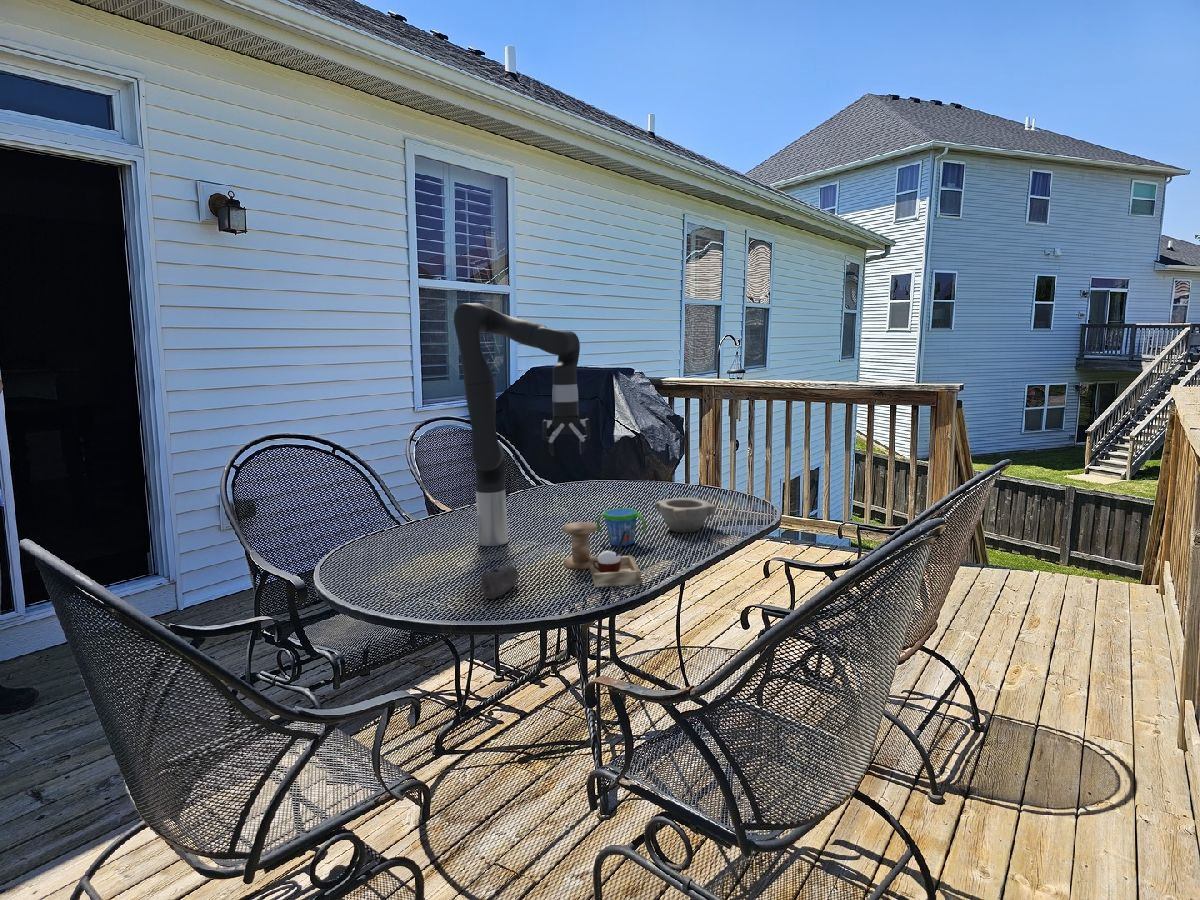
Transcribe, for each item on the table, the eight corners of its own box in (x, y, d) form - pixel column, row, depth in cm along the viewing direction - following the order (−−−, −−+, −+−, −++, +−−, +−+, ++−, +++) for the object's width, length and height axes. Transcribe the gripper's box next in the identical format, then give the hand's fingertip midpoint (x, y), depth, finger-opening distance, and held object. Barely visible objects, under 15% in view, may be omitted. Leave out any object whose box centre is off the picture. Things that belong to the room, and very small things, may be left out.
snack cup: (591, 546, 227) (590, 514, 225) (605, 537, 236) (604, 506, 235) (639, 550, 220) (638, 517, 219) (651, 541, 230) (650, 509, 228)
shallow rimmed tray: (595, 587, 189) (594, 574, 189) (589, 569, 204) (589, 557, 204) (640, 584, 191) (640, 571, 190) (632, 566, 205) (632, 555, 205)
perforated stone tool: (509, 582, 195) (508, 557, 194) (526, 585, 193) (524, 559, 192) (475, 601, 182) (473, 574, 181) (492, 604, 180) (491, 577, 179)
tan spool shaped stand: (564, 570, 204) (563, 532, 202) (562, 559, 214) (561, 523, 212) (600, 568, 205) (599, 529, 203) (597, 557, 215) (595, 521, 213)
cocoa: (590, 575, 198) (586, 532, 196) (605, 568, 203) (601, 526, 201) (618, 580, 192) (614, 535, 190) (632, 572, 196) (628, 529, 195)
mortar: (721, 531, 238) (720, 504, 237) (675, 538, 231) (675, 510, 230) (693, 520, 253) (693, 494, 252) (650, 527, 247) (650, 500, 245)
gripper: (541, 401, 210) (543, 457, 213) (590, 400, 212) (592, 455, 214) (540, 399, 218) (542, 453, 220) (588, 398, 219) (590, 451, 222)
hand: (567, 454), depth 217 cm, fingers open, 8 cm apart
